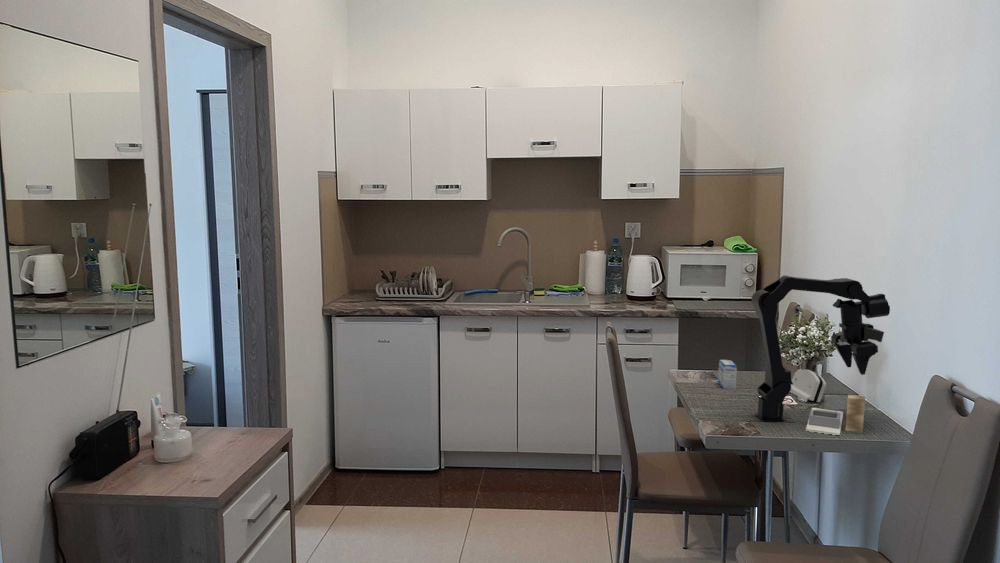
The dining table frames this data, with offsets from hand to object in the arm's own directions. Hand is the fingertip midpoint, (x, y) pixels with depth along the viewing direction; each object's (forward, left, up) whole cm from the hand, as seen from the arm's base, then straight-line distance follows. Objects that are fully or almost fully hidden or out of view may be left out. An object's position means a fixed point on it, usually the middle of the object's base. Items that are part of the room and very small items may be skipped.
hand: (855, 370), depth 227 cm
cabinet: (-10, -2, -15) cm, 18 cm away
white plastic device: (-1, +27, -16) cm, 31 cm away
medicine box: (-23, +41, -16) cm, 50 cm away
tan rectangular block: (-5, -9, -15) cm, 19 cm away
